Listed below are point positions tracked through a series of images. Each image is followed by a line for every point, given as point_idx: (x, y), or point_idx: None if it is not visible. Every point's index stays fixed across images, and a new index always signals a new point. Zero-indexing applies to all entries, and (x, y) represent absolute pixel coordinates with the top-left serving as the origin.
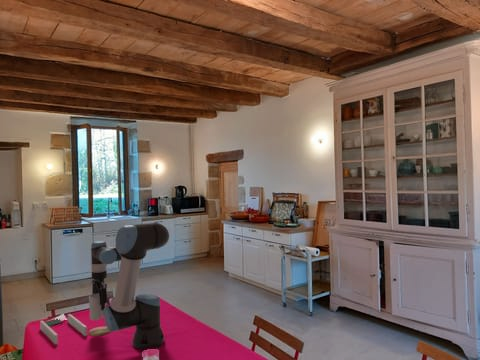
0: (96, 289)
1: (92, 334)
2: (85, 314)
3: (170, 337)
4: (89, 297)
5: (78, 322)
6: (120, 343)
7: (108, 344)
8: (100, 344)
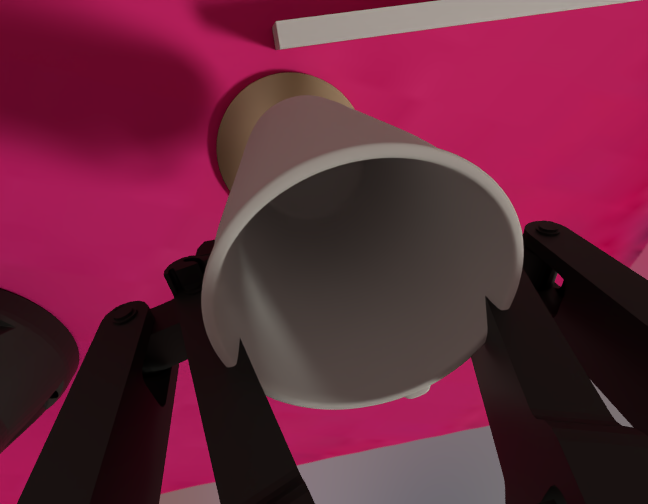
0: (528, 434)
1: (249, 89)
2: (639, 140)
3: None
4: (344, 146)
5: (446, 1)
6: (12, 224)
7: (15, 153)
8: (33, 99)
